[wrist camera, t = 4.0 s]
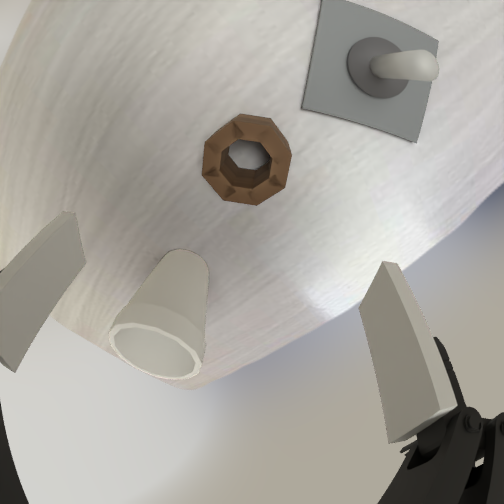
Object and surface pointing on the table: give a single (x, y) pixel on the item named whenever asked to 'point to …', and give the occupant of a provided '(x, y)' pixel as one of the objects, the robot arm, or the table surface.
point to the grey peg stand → (370, 69)
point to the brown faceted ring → (245, 180)
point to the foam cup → (166, 319)
